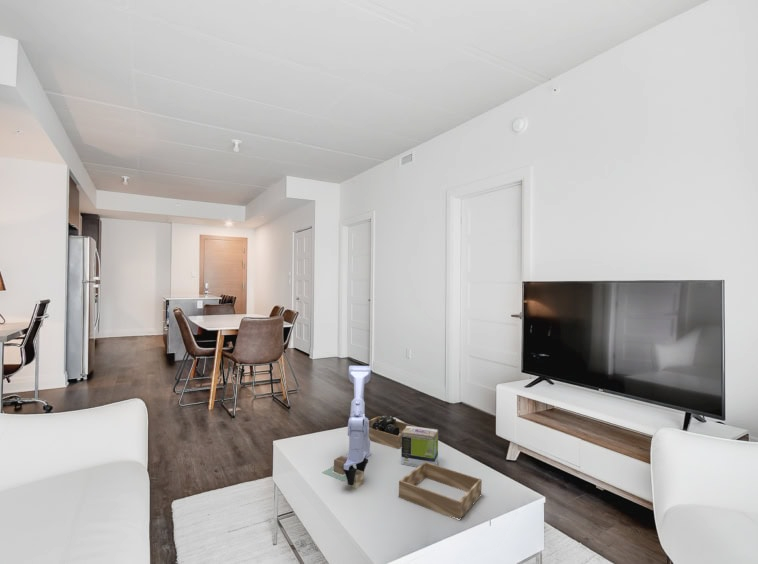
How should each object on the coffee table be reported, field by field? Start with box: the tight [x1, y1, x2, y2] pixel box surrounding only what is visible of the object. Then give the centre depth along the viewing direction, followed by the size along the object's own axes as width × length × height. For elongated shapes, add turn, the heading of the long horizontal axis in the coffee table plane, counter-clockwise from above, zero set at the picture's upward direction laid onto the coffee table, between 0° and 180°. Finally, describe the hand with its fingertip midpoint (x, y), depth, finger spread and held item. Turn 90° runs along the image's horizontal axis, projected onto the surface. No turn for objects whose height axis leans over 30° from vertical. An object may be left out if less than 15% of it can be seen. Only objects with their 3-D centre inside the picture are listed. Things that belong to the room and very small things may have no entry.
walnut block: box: [333, 455, 348, 475], centre depth 167 cm, size 5×5×5 cm
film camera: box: [372, 415, 400, 436], centre depth 207 cm, size 18×12×10 cm
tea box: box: [400, 425, 439, 468], centre depth 178 cm, size 15×10×15 cm
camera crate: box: [368, 416, 418, 450], centre depth 207 cm, size 19×25×6 cm
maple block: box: [346, 470, 364, 489], centre depth 157 cm, size 4×4×5 cm
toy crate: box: [398, 462, 483, 519], centre depth 150 cm, size 21×25×6 cm
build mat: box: [321, 465, 357, 482], centre depth 167 cm, size 12×12×1 cm
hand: (355, 480), depth 157 cm, fingers open, 6 cm apart
